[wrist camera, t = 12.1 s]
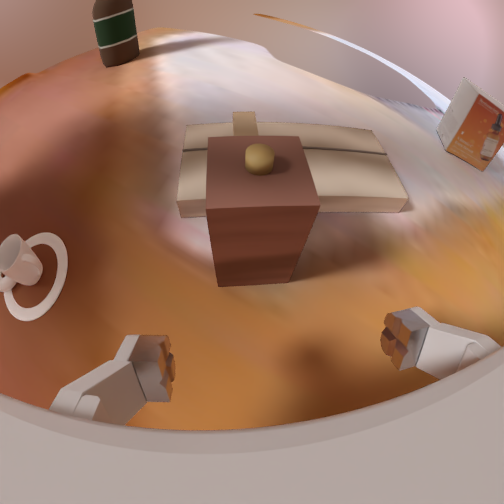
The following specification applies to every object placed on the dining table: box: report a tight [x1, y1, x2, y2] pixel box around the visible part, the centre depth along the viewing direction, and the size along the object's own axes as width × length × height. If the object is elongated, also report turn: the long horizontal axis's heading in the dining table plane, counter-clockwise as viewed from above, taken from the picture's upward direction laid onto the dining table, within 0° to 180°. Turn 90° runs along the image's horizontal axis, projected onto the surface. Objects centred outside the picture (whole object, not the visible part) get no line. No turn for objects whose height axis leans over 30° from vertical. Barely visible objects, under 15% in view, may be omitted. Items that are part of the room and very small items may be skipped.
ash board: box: [177, 122, 409, 218], centre depth 21 cm, size 9×18×2 cm, turn 95°
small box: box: [437, 77, 504, 171], centre depth 23 cm, size 8×6×10 cm
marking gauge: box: [206, 112, 321, 287], centre depth 16 cm, size 12×4×9 cm, turn 5°
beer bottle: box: [93, 0, 139, 67], centre depth 27 cm, size 8×8×24 cm
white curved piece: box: [0, 233, 68, 321], centre depth 15 cm, size 9×8×4 cm
